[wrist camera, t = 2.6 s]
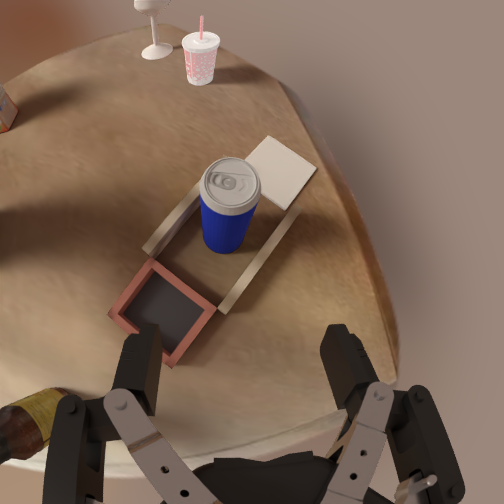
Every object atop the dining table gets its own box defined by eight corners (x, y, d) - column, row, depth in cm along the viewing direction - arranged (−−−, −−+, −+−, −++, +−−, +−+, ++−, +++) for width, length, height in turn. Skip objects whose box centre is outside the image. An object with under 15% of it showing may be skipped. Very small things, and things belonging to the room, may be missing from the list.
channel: (224, 314, 34) (226, 314, 30) (147, 254, 34) (141, 248, 31) (294, 218, 38) (302, 208, 35) (223, 167, 39) (224, 154, 35)
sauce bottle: (48, 378, 28) (-48, 404, 9) (83, 399, 28) (-5, 449, 9) (42, 413, 26) (-42, 452, 7) (76, 435, 26) (0, 494, 7)
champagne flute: (135, 52, 43) (122, -41, 20) (162, 39, 44) (157, -51, 21) (151, 63, 42) (141, -39, 19) (179, 50, 44) (178, -49, 21)
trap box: (174, 365, 31) (171, 368, 29) (113, 314, 32) (106, 314, 29) (216, 308, 34) (217, 308, 32) (154, 260, 34) (150, 256, 32)
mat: (284, 210, 38) (285, 209, 38) (232, 174, 38) (232, 172, 38) (315, 169, 41) (316, 168, 40) (267, 136, 41) (268, 135, 41)
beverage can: (246, 221, 37) (268, 162, 23) (238, 259, 36) (256, 217, 21) (208, 212, 37) (208, 148, 22) (198, 249, 35) (191, 202, 21)
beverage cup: (223, 75, 43) (230, 14, 30) (203, 92, 42) (205, 27, 28) (197, 64, 43) (199, 5, 30) (176, 80, 42) (172, 19, 28)
